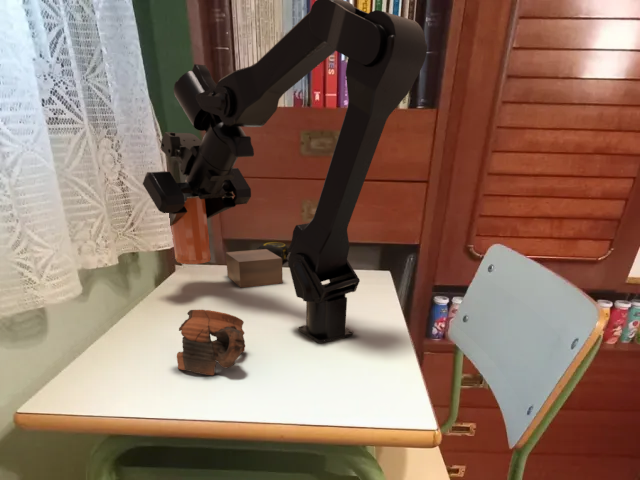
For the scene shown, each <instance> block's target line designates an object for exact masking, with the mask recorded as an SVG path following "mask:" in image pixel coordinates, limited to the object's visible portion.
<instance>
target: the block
mask: <svg viewBox="0 0 640 480" xmlns="http://www.w3.org/2000/svg"><path fill="white" fill-rule="evenodd" d="M225 260H226V273H227V274H226V275H227V277H228V278H229V279H230V280H231V281H232V282H233V283H234V284H236V286H238V287H239V288H241V289H242V288H243V289H244V288H250V287H251V288H253V287H260V286H270V285H278V284H283V261H282V258H281V257H279V256H277V255H276V254H274V253H272V252H270V251H269V250H267V249H261V250H257V249H250V250H238V251H226V252H225Z"/></svg>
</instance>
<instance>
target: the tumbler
mask: <svg viewBox="0 0 640 480" xmlns="http://www.w3.org/2000/svg"><path fill="white" fill-rule="evenodd" d="M184 206H185V208H186V210H187V213H186V214H185V215H184V216H182V217H181V218H180V219H179V220H178V221H177V222H176V223H175V224H173V225H172V226H170V228H171V236H172V235H173V236H172V242H173V249H174V257H175V261H176V262H177V263H178V264H183V265H199V264H200V265H201V264H205V263H208V262H210V261H211V260H212V257H211V248H210V247H211V245H210V236H209V226H208V219H207V215H206V204H205V199H200V198H189V199H187V200H186V202H185V204H184Z"/></svg>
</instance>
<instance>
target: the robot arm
mask: <svg viewBox="0 0 640 480" xmlns="http://www.w3.org/2000/svg"><path fill="white" fill-rule="evenodd" d="M335 52H337V53H339V54H341V55H342V56H345V57H347V62H346V68H345V81H346V86H347V87H346V89H347V98H348V99H347V100H348V104H347V107H346V111H345V114H344V118H343V121H342V124H341V127H340V129H339V130H340V131H339V134H338V137H337V140H336V143H335V147H334V150H333V153H332V157H331V159H330V163H329V166H328V169H327V173H326V176H325V180H324V182H323V186H322V189H321V192H320V196H319V199H318V202H317V205H316V208H315V212H314V215H313V217H312V219H311V220H310V221H309V222H308V223H307V222H306V223H301V224H296V225H295V227H294V229H293V231H292V235H291V242H290V244H289V246H288V247H287V248H288V249H287V252H289V254H288V259H287V265H288V268H289V273H290V276H291V279H292V283H293V287H294V291H295V296H296V298H299V299H301V300H303V302H306V304H305V305H306V306H305V307H306V311H305V315H306V317H305V322H306V323H305V324H306V325H301V326H298V328H297V329H298V330H297V331H299V332H300V333H302V334H303V335H305V336H307V337H308V338H311V340H313V341H315V342H316V343H319V344H320V343H326V342H330V341H331V342H332V341H335V340H340V339H343V338H348V337H352V336H354V331H352V330H350V329H348V328H347V309H348V308H347V305H348V297H347V296H346V294H350V293H355V292H357V288H358V286H359V284H360V278H359V277H358V274H357V273H356V271H355V270H354V268H353V266H352V265H351V263H350V262H349V260H348V257H349V251H350V241H349V234H348V233H349V232H348V227H349V224H350V221H351V218H352V216H353V213H354V210H355V208H356V206H357V203H358V200H359V197H360V195H361V192H362V189H363V187H364V183H365V181H366V177H367V175H368V172H369V169H370V167H371V164H372V161H373V158H374V155H375V153H376V150H377V147H378V144H379V142H380V140H381V137H382V133H383V131H384V128H385V126H386V123H387V120H388V119H389V116H391V114H392V113H393V112H394V111H395V110H396V109H397V107H398V106H399V105H400V104H401V102H403V100H404V99H405V98H406V97H407V96H408V95H409V92H410V90H411V89H412V87H413V85H414V83H415V82H416V79H417V78H418V76H419V74H420V72H421V71H422V68H423V66H424V64H425V62H426V57H427V54H428V43H427V41H426V36H425V32H424V30H423V28H422V26H421V25H420V24H419V23H418V22H417V21H416V20H413V19H409V18H406V17H404V16H400V15H397V14H393V13H391V12H390V13H389V12H387V11H382V10H378V9H376V10H373V11H369V12H367V11H364V10H361V9H360V8H358V7H356V6H354V4H352V3H351V2H349V1H347V0H315V1H314V2H313V4H312V5H311V8H310V10H309V12H307V13H306V14H305V15H304V16H303V17H302V18H301V19H300V20H299V21H298V22H297V23H296V24H295V25H294V26H293V27H292V28H291V29H290V30H288V32H286V33H285V35H284V36H282V37H281V38H280V39H279V40H278V41H277V42H276V43H275V44H274V45H273V46H272V47H271V48H270V49H269V50H268V51H267V52H266V53H265V54H264V55H263V56H262V57H261V58H259V59H258V61H257V62H255V63H253V64H252V65H250V66H245V67H242V68H239V69H236V70H233V71H231V72H230V73H228V74H227V75H225V76H223V77H222V78H220V79H219V80H218V82H217V83H216V82H215V80H214V79H213V77H212V74H211V72H210V69H209V68H208V67H207V64H199V63H194V64H193V67H192V69H191V70H189V71H187V72H184V74H181V76H180V77H179V79H178V80H176V81H175V82H174V86H173V94H174V97H175V98H176V100H177V102H178V103H179V105H180V107H181V108H182V111H183V112H184V113H185V115H186V117H187V118H188V120H189V121H190V123H191V124H192V126H193V128H194V129H195V130H197V131H201V132H205V133H204V135H203V138H202V140H201V138H199V137H198V136H197V135H195V134H193V133H191V132H174V131H165V132H164V134H163V136H162V138H161V142H160V149H161V151H162V152H163V153H164V154H165V155H166V156H167V157H168V158H171V159H174V160H175V161H177V162H178V163H179V164H180V166H179V171H180V172H181V174H182V175H183V176H184V175H185V176H186V177H185V181H184V182H177V181H176V179H175V177H174V176H173V174H172V173H171V171H168V170H167V171H166V170H164V171H163V170H162V171H160V170H159V171H147V172H146V174H145V176H144V178H143V182H142V186H143V187H144V188H145V190H146V192H147V194H148V196H149V197H150V199H151V200H152V202H153V203H154V205H155V207H156V209H157V210H158V211H159V212H161V213H162V214H166V213H169V218H170V226H169V227H171V226H172V225H173V224H175V223H176V222H177V221H178V220H179V219H180V218H181V217H182V216H184V215H185V214H186V213H187V210H186V208H185V206H184V204H185V202H186V200H187V199H189V198H200V199H205V204H206V215H207V220H208V219H210V218H212V217H215V216H217V215H219V214H221V213H223V212H225V211H227V210H230V209H233V208H235V207H236V206H238V205H239V206H240V205H247V204H248V202H249V201H250V199H251V198H252V188H251V187H250V185H249V184H248V182H247V180H246V179H245V176H243V174H242V172H241V171H240V169H239V168H238V167H234V166H235V164H236V163H237V160H238V159H239V158H253V157H254V156H255V151H254V146H253V144H252V137H251V136H250V135H247V134H246V132H245V131H244V129H243V128H261V127H263V126H265V125H266V124H267V123H268V121H269V120H270V119H271V118H272V117H273V115H274V114H275V113H276V111H277V110H278V106H279V103H280V99H281V98H282V97H283V96H284V94H285V93H286V92H288V91H290V89H291V88H292V87H294V86H295V85H297V83H299V82H300V81H301V80H302V79H303V78H304V77H306V76H307V75H308V74H310V73H311V72H312V71H313V70H314V69H316V68H317V67H318V66H319V65H321V64H322V63H323V62H324V61H325V60H326V59H327V58H329V57H330V56H331V55H333V54H334V53H335ZM326 281H329V282H326ZM322 282H326V283H324V284H323V283H322Z"/></svg>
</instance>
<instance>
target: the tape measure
mask: <svg viewBox="0 0 640 480" xmlns="http://www.w3.org/2000/svg"><path fill="white" fill-rule="evenodd" d="M288 248H289V247H288V246H287V244H285V243H283V242H279V241H278V242H277V241H270V242H263V243H261V244H260V245H259V246H258V247H257V248H256V250H261V249H267V250H269V251H270V252H272V253H274V254H276V255H277V256H279V257H281V258H282V262H284V261H285V260H287V258H288V257H289V254H290V252H287V249H288Z"/></svg>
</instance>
